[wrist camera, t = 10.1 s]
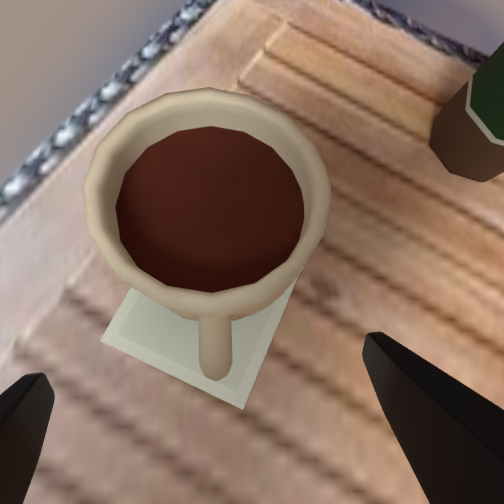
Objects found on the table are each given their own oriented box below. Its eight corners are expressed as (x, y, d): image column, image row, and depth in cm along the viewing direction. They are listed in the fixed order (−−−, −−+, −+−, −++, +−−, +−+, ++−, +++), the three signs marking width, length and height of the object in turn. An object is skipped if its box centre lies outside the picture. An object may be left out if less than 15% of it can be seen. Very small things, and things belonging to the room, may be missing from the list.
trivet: (318, 224, 24) (321, 220, 23) (242, 407, 20) (243, 410, 19) (201, 172, 24) (201, 166, 24) (104, 340, 20) (99, 340, 20)
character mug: (276, 358, 20) (359, 383, 8) (164, 364, 19) (54, 404, 7) (266, 204, 23) (313, 42, 11) (168, 205, 22) (97, 34, 10)
